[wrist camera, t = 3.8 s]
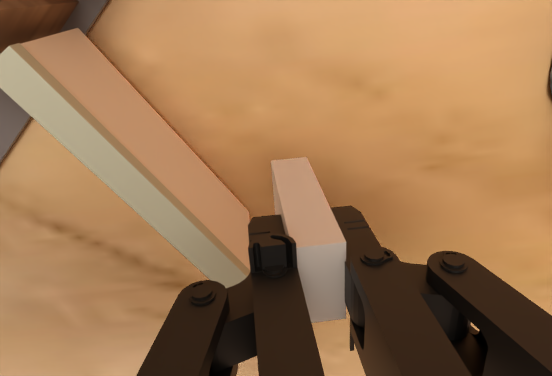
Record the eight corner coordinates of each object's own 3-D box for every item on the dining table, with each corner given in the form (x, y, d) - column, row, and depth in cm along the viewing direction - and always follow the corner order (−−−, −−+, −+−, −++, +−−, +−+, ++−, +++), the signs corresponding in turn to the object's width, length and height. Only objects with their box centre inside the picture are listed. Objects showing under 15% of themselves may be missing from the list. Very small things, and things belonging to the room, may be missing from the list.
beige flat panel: (60, 44, 22) (-19, 71, 15) (79, 26, 21) (9, 45, 14) (233, 222, 27) (236, 303, 20) (249, 210, 27) (258, 288, 20)
